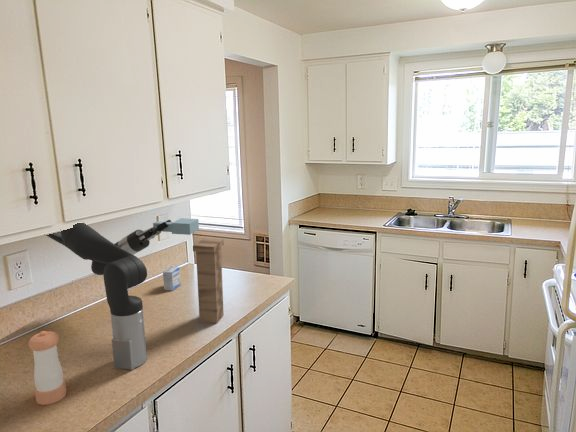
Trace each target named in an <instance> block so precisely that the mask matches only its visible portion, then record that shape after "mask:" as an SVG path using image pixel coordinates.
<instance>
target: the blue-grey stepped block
mask: <svg viewBox="0 0 576 432" xmlns="http://www.w3.org/2000/svg"><path fill="white" fill-rule="evenodd" d="M163 222H164V221H158V220H157V221H154V222H153V223H152V227H153V228H154V227H155V226H158V225H160V224H161V223H163ZM165 222H166V221H165ZM199 222H200V221H199V218H178V219H176V220H174V221H171V222H166V223H167V225H168V227H167V228H165V229H163V230H162V231H161V233H163V232H165V233H171V235H187V236H189V235H193V234H194V233H196V232H197V231H199V229H200V228H199V227H200V226H199Z"/></svg>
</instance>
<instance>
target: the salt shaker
mask: <svg viewBox="0 0 576 432" xmlns="http://www.w3.org/2000/svg"><path fill="white" fill-rule="evenodd" d="M59 340H60V336H59V334H58V333H56V332H55V331H47V330H41V331H40V332H38V333H36V334H34V335H32V336H31V337H30V339H29V340H28V347H29V348H30V350H31V351H32V353H33V360H34V362H33V363H34V371H33V373H34V374H33V380H34V384H35V387H34V397H35V402H36V404H38V405H41V406H46V405H51V404H55V403H57V402H59V401H61V400H62V399H63V398H65V397H66V395H67V385H66V381H65V378H64V376H63V372H64V371H63V367H62V364H61V362H60V359H59V354H58V346H57V345H58V344H59Z"/></svg>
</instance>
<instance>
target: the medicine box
mask: <svg viewBox="0 0 576 432" xmlns="http://www.w3.org/2000/svg"><path fill="white" fill-rule="evenodd" d="M180 269H181V267H179V266H170V267H168V269H165V271H163V272H162V278H163V287H164V288H163V289H164V291H171V292H173V291H174V290H176V289H177V288H178V287H180V286H181V284H182V283H181V270H180Z"/></svg>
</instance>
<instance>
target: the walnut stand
mask: <svg viewBox="0 0 576 432" xmlns="http://www.w3.org/2000/svg"><path fill="white" fill-rule="evenodd" d="M224 243H225V242H224V239H219V238H218V239H217V238H202V239H201V240H199V241H198V242H196V243H195V244H193V245H192V251H193V252H195V255H196V256H195V257H196V259H195V260H196V278H197V279H196V280H197V294H198V295H197V299H198V314H199V315H198V316H199V323H207V324H208V323H209V324H218V323H219V322H220V320H221V319H222V318H223V317H224V295H223V294H224V291H223V268H222V267H223V263H222V262H223V261H222V247H223V246H224Z"/></svg>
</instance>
